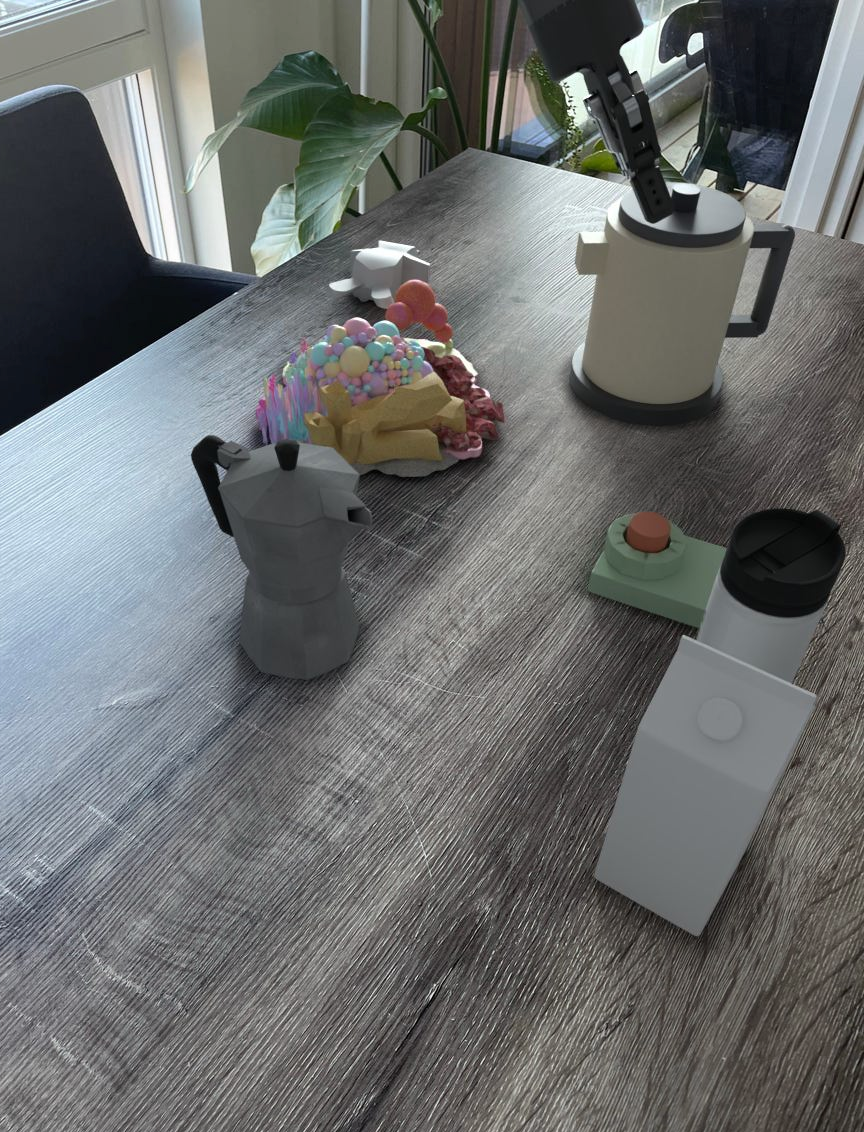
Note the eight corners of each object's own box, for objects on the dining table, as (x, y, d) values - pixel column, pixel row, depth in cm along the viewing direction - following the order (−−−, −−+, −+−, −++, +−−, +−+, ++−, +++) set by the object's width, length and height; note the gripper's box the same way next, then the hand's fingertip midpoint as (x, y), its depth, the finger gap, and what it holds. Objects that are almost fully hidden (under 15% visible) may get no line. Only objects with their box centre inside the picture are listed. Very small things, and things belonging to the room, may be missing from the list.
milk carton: (641, 803, 69) (709, 597, 55) (742, 857, 66) (840, 654, 53) (592, 878, 65) (652, 676, 51) (697, 939, 62) (791, 743, 49)
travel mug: (775, 765, 71) (877, 545, 57) (708, 809, 69) (797, 590, 54) (707, 707, 75) (788, 486, 61) (642, 747, 72) (709, 526, 58)
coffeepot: (405, 639, 79) (412, 444, 67) (330, 715, 74) (322, 519, 61) (252, 560, 86) (232, 368, 73) (173, 625, 80) (136, 430, 67)
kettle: (771, 426, 100) (838, 225, 86) (571, 429, 99) (605, 227, 85) (725, 339, 111) (777, 149, 97) (545, 341, 111) (571, 150, 96)
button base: (782, 587, 84) (797, 550, 81) (760, 650, 79) (775, 613, 76) (617, 535, 88) (625, 498, 86) (586, 592, 83) (594, 555, 81)
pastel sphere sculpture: (539, 460, 96) (552, 372, 89) (295, 513, 90) (289, 423, 83) (437, 330, 112) (442, 247, 105) (225, 367, 106) (216, 283, 100)
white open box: (443, 240, 118) (399, 283, 107) (439, 284, 122) (396, 330, 110) (366, 226, 120) (315, 267, 109) (364, 270, 124) (315, 314, 113)
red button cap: (671, 535, 83) (675, 518, 82) (660, 559, 81) (664, 542, 80) (632, 523, 84) (636, 506, 83) (620, 546, 82) (624, 529, 81)
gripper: (635, -50, 69) (727, 198, 75) (608, -21, 81) (689, 191, 87) (533, 12, 71) (630, 249, 77) (520, 31, 83) (606, 235, 89)
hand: (661, 218), depth 82 cm, fingers closed
